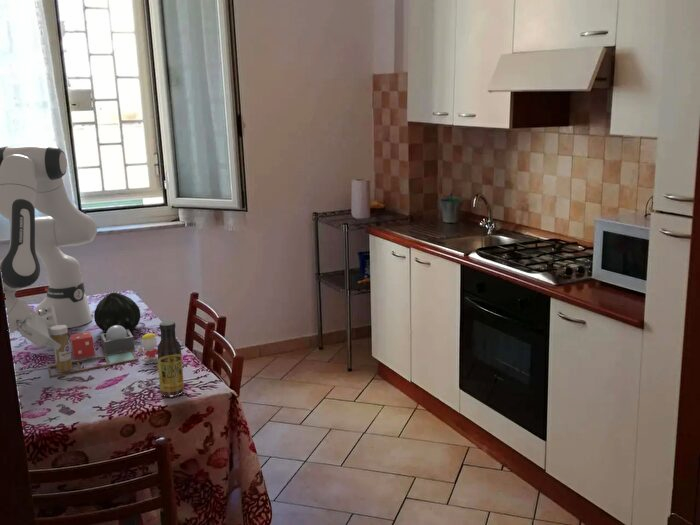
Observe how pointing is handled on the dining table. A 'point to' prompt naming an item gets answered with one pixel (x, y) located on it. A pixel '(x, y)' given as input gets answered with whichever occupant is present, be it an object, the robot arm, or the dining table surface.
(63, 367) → the sprinkles bottle
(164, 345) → the sauce bottle
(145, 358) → the toy figures
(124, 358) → the wooden frame
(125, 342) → the dome housing
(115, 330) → the dome
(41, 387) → the dining table surface
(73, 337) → the red die
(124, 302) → the squash
